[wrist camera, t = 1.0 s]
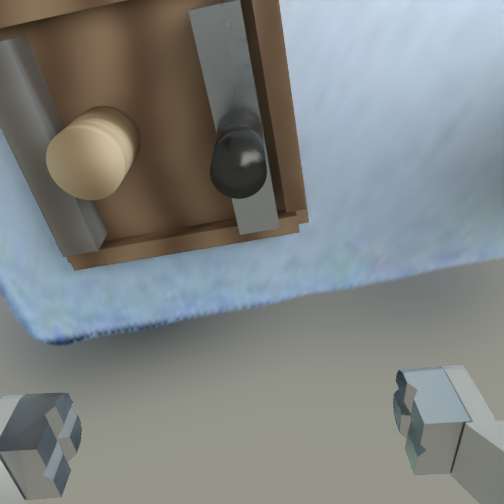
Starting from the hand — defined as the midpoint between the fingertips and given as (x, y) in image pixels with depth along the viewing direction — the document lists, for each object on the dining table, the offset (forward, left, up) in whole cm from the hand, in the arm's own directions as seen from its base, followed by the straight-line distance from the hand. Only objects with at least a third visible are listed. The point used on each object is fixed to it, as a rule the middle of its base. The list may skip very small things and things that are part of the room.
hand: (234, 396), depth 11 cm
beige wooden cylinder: (+10, 0, -27) cm, 29 cm away
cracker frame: (+7, 0, -28) cm, 29 cm away
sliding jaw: (0, 0, -26) cm, 26 cm away
